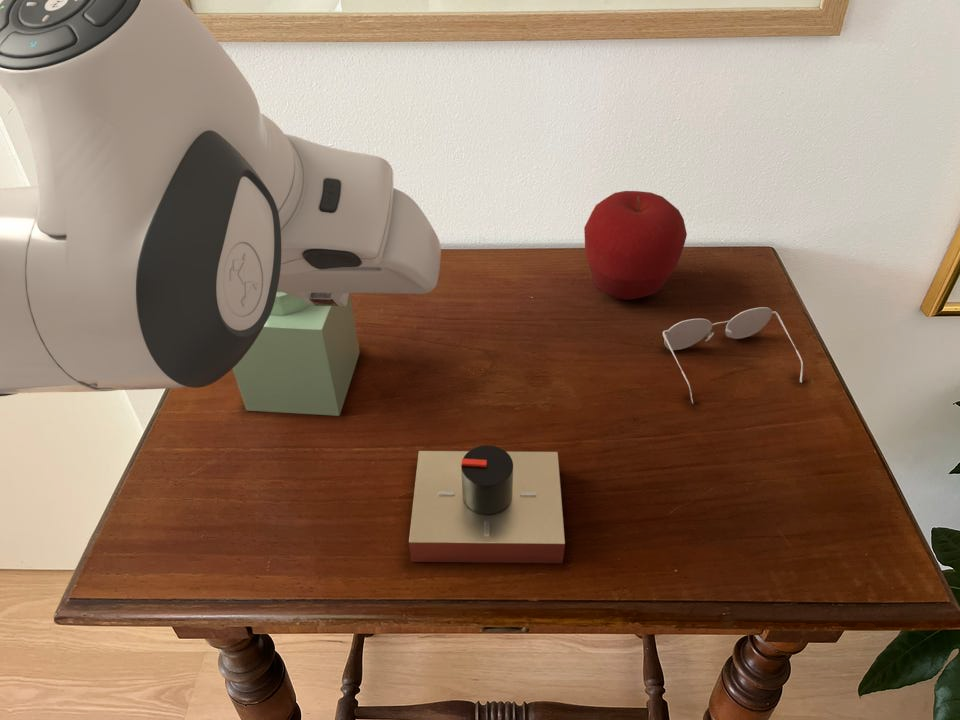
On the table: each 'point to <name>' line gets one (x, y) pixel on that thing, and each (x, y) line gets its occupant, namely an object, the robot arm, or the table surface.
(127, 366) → the robot arm
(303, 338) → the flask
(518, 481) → the panel
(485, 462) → the knob
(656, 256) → the apple
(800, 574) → the table surface
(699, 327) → the sunglasses
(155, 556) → the table surface
